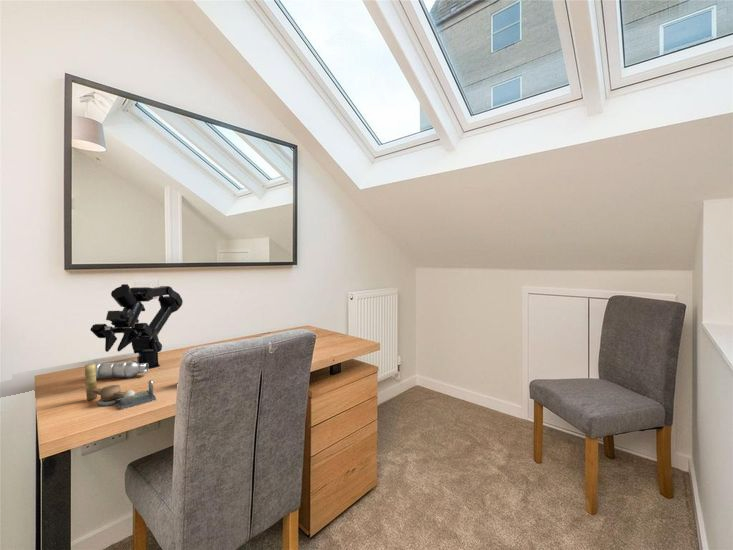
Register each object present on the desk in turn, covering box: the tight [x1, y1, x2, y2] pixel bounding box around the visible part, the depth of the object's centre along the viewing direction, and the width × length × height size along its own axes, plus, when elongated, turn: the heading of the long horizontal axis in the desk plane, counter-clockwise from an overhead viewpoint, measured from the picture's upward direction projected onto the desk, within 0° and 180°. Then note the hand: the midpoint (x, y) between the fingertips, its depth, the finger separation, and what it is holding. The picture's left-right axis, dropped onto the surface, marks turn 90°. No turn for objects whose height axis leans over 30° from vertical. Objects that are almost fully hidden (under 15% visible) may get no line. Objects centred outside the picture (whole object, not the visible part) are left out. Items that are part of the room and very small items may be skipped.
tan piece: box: [84, 363, 136, 401], centre depth 106 cm, size 18×5×11 cm, turn 75°
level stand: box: [97, 380, 157, 410], centre depth 107 cm, size 14×12×5 cm
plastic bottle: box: [88, 359, 150, 381], centre depth 128 cm, size 6×7×20 cm
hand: (112, 351), depth 119 cm, fingers open, 4 cm apart
